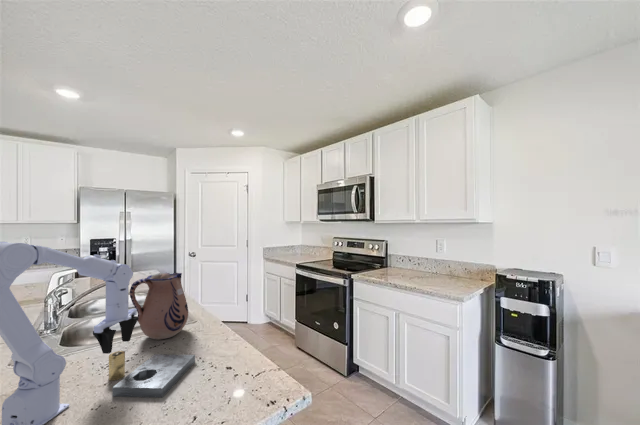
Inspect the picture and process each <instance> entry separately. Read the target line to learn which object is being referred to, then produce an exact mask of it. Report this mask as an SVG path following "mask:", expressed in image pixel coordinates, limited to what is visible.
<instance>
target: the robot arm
mask: <svg viewBox="0 0 640 425" xmlns="http://www.w3.org/2000/svg"><path fill="white" fill-rule="evenodd" d="M45 263H47V264H52V265H56V266H61V267H66V268H70V269H75V270H76V271H77V274H78V275H79V276H83V277H88V278H93V279H97V280H101V281H102V280H103V281H104V282H105V310H104V311H105V318H103V319H102V320H101V321H99V323H97V324H96V325H94V326H93V331H92V335H93V337H94V338H95V339H96V341H97V342H98V344H99V347H100V349H101V352H102V354H104V355H105V354H109V355H110V354H112V350H113V342H114V341H113V340H114V338H115V334H116V333H117V329H112V328H111V327H113V326H115V325H117V324H119V327H120V332H121V340H122V342H130V341H131V338H132V335H133V332H134V329H135V326H136V324H137V322H138V313H137V309H136V308H130V309H129V301H130V300H129V298H130V287H129V286H130V282H131V279H132V278H133V277H134V276H133V275H134V271H132V268H131V267H130V265H128V264H124V263H117V260H116V259H115V260H114V259H111V260H109V259H106V258H102V255H100V254H93V255H90V254H89V255H86V256H85V257H81V256H77V255H74V254H70V253H68V252H66V251H61V250H59V249H55V248H52V247H48V246H42V245H35V244H30V243H29V244H28V243H25V242H8V241H0V338H1V340H3V342H4V344H6V346H7V348H8V349H9V350H10V352H11V353H12V354H11V356H10V358H11V360H12V362H13V368H12V369H13V370H12V371H13V373H14V375H16V376H17V377H19V381H18V385H17V388H16V390H15V391H14V392H13V393H11V394H10V395H9V396H8V397H7V398H5V399H4V401H3V403H2V405H1V425H45V424H47V423H48V422H50V421H51V420H52V419H54V418H55V417H56V416H57V415H59V414H61V413H62V412H63V411H64V410H66V409H67V408H68V407H70V403H61V402H60V401H61V399H60V398H61V397H60V396H61V375H62V374H63V372H64V371H65V368H66V365H67V362H66V359H65V357H64V356H62V355H60V354H57V353H56V352H55V351H54V349H52V347H50V346H49V345H48V344H47V343H45V342H44V341H43V339H42V337H41V336H40V334H39V333H38V332H37V330H36V328H35V326H34V325H33V324H32V322H31V321H30V319H29V317H28V315H27V314H26V312H25V311H24V309H23V307H22V306H21V304H20V302H19V301H18V300H17V298H16V297H15V295H14V294H13V292H12V291H11V288H10V287H11V286H12V284H14V282H15V280H16V279H17V278H18V277H19V276H20V275H22V274H23V273H24V272H25V271H27V270H28V269H29V268H30V267H31V266H33V265H34V266H35V265H36V266H38V265H42V264H45Z"/></svg>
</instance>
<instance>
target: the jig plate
mask: <svg viewBox="0 0 640 425" xmlns="http://www.w3.org/2000/svg"><path fill="white" fill-rule="evenodd" d="M195 363H196V354H171V353H169V354H163V353H161V354H159V353H158V354H157V353H155V354H153V355H152V356H150V357H149V358H148V359H147V360H145V361H144V362H142V364H141V365H139V366H137V367H136V368H135V369H134V370H133V371H132V372H131V371H130V373H129V374H127V375H126V376H124V377H123V378H121V379H120V380H119V382H118V383H116V384H115V385H113V387H112V389H111V390H112V394H111V396H112V398H113V397H115V398H116V397H119V398H120V397H121V398H157V397H158V398H163V397H165V395H167V393H169V391H170V390H171V388H173V387H174V386H175V385H176V383H178V381H180V379H181V378H182V377H183V376H184V375H185V374H186V373H187V372H188V370H189V369H190V368H191V367H192V366H193V365H194V364H195ZM172 386H173V387H172Z"/></svg>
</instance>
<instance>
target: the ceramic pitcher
mask: <svg viewBox="0 0 640 425" xmlns="http://www.w3.org/2000/svg"><path fill="white" fill-rule="evenodd" d="M182 276H183V273H182V272H174V273H170V272H159V273H156V274H151V275H148V276H147V277H145V278H140V279H138V280H136V281H134V282H133V283H132V284H131V286H130V288H129V298H130V300H131V302H132V304H133V306H134V309H137V316H138V321H137V322H138V323H139V326H140V330H141V332H142V333H143V334H144V335H145V336H146V337H148V338H150V339H152V340H159V341H160V340H164V339H170V338H172V337H174V336H176V335H177V334H179V333H181V331H182V330H183V328H184V327H185V325H186V324H187V322H188V318H189V308H188V302H187V298H186V295H185V293H184V289H183V288H184V287H183V286H182ZM142 284H146V285H147V287H148V289H147V290H148V291H147V293H146V297H145V299H144V302H143V304H142V306H141V305H140V303H139V301H138V300H137V298H136V294H135V293H136V289H137V287H139V285H142Z"/></svg>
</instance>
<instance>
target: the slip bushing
mask: <svg viewBox="0 0 640 425" xmlns="http://www.w3.org/2000/svg"><path fill="white" fill-rule="evenodd" d="M125 352H126V351H124V350H118V351H114V352H111V353H109V355H108V381H111V382H115V381H118V380H119V381H120V380H122V379H124V378H125V377H126V376H125V375H126V353H125Z"/></svg>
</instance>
